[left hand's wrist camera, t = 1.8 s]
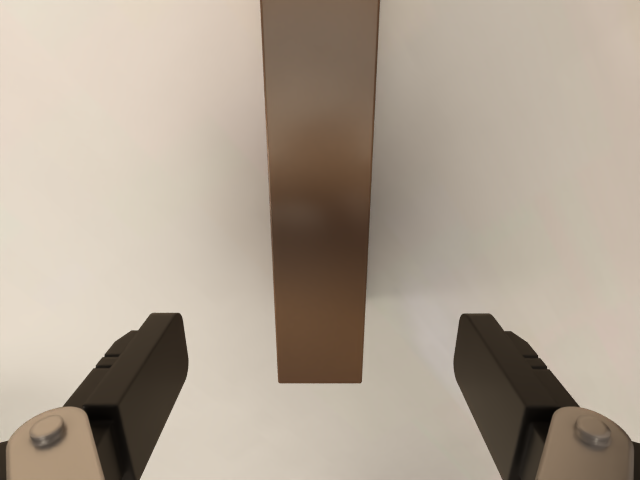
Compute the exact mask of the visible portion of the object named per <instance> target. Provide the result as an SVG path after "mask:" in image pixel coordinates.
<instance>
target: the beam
mask: <svg viewBox="0 0 640 480" xmlns="http://www.w3.org/2000/svg"><path fill="white" fill-rule="evenodd" d="M260 8H261V29H262V51H263V72H264V93H265V114H266V135H267V156H268V177H269V198H270V220H271V241H272V262H273V283H274V304H275V325H276V346H277V367H278V382H279V383H361V382H362V367H363V346H364V325H365V304H366V283H367V262H368V241H369V220H370V199H371V178H372V157H373V136H374V115H375V94H376V73H377V52H378V31H379V10H380V0H260Z"/></svg>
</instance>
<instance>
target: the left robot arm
mask: <svg viewBox="0 0 640 480" xmlns="http://www.w3.org/2000/svg"><path fill="white" fill-rule="evenodd" d="M187 372H188V352H187V346H186V339H185V332H184V325H183V319H182V316H181V314H180V313H152V314H150V315H149V317H148V318H147V319H146V321H145V322H144V323H143V325H142V326H141V327H140V329H139V330H138V331H130V332H129V333H127V334H126V335H124V336H123V337H121V338H120V339H118V340H117V341H115V342H114V344H113V345H112V346H111V347H110V349H109V350H108V351H107V352H106V354H105V357H102V359H101V360H100V361H99V362H98V364H97V365H96V368H93V370H92V371H91V372H90V373H89V375H88V376H87V377H86V378H85V380H84V381H83V382H82V383H81V385H80V386H79V387H78V388H77V390H76V391H75V392H74V393H73V395H72V396H71V397H70V398H69V399H68V401H67V402H66V403H65V404H64V406H63V407H60V408H55V409H52V410H49V411H46V412H43V413H41V414H39V415H37V416H35V417H33V418H32V419H30V420H29V421H27V422H26V423H24V424H23V425H22V426H20V427H19V428H18V429H17V430H16V431H15V432H14V434H13V435H12V436H11V438H10V439H9V441H5V442H1V443H0V480H140V478H141V476H142V473H143V471H144V469H145V467H146V465H147V463H148V460H149V458H150V456H151V454H152V452H153V449H154V447H155V445H156V443H157V441H158V439H159V436H160V434H161V432H162V430H163V428H164V426H165V423H166V421H167V419H168V417H169V415H170V413H171V410H172V408H173V406H174V404H175V402H176V399H177V397H178V395H179V393H180V391H181V389H182V386H183V384H184V382H185V380H186V377H187ZM454 373H455V377H456V380H457V383H458V385H459V387H460V389H461V391H462V394H463V396H464V398H465V400H466V402H467V404H468V406H469V409H470V411H471V413H472V415H473V417H474V419H475V421H476V424H477V426H478V428H479V430H480V432H481V434H482V437H483V439H484V441H485V443H486V445H487V447H488V449H489V452H490V454H491V456H492V458H493V460H494V462H495V464H496V467H497V469H498V471H499V473H500V475H501V477H502V479H503V480H640V443H636V442H633V441H631V439H630V438H629V436H628V435H627V434H626V432H625V431H624V430H623V429H622V428H621V427H620V426H618V425H617V424H616V423H614V422H613V421H611V420H610V419H608V418H607V417H605V416H603V415H601V414H599V413H597V412H594V411H591V410H588V409H585V408H580V407H579V405H578V404H577V403H576V402H575V400H574V399H573V398H572V397H571V395H570V394H569V393H568V392H567V391H566V389H565V388H564V387H563V386H562V384H561V383H560V382H559V381H558V379H557V378H556V377H555V376H554V375H553V373H552V372H551V371H550V370H549V369H547V366H546V365H545V363H544V362H543V361H542V360H541V359H540V358H538V355H537V354H536V352H535V351H534V350H533V349H532V348H531V346H530V345H529V344H528V343H527V342H526V341H524V340H523V339H522V338H520V337H519V336H517V335H516V334H514V333H513V332H511V331H504V330H503V329H502V328H501V326H500V325H499V324H498V322H497V321H496V320H495V318H494V317H493V316H492V315H491V314H462V315H461V317H460V320H459V326H458V333H457V340H456V347H455V353H454Z"/></svg>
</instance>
